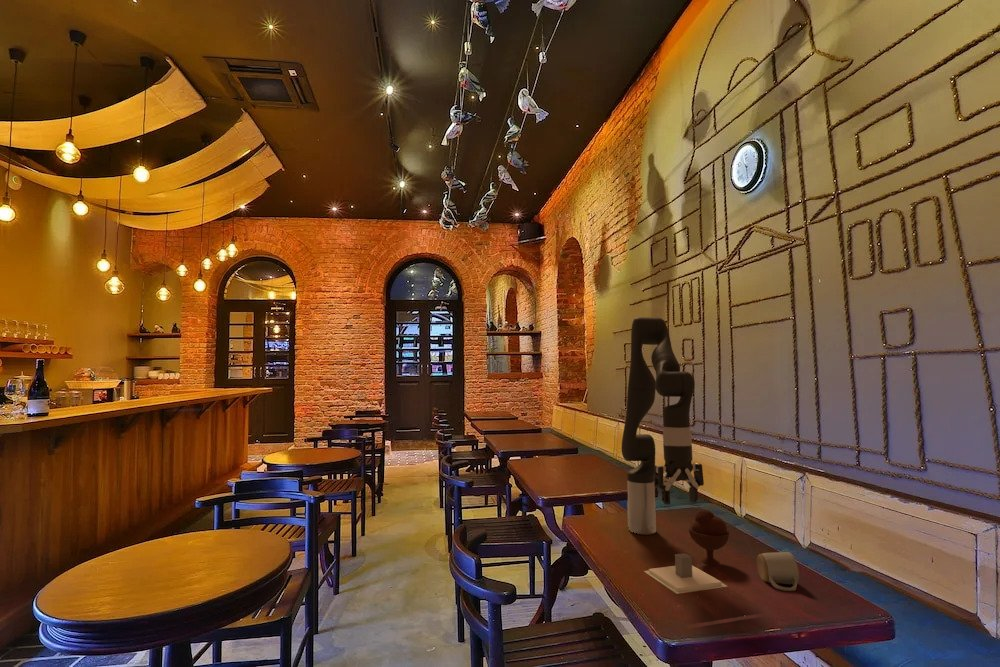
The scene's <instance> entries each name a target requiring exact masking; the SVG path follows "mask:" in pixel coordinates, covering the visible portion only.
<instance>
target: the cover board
mask: <svg viewBox="0 0 1000 667" xmlns="http://www.w3.org/2000/svg"><path fill="white" fill-rule="evenodd" d="M692 558H693V557H692V556H691V555H689V554H687V553H677V554H674V564H675V565H671V566H662V567H656V568H655V567H653V568H648V570H649V572H650V573H651V574H652V575H654V576H655V577H657V578H658V579H660V580H661V581H663V582H664V583H666V584H667V585H669V586H670V587H672V588H673V589H675V590H676V591H684V590H691V589H698V588H705V587H712V586H719V585H722V583H723V582H722V581H721V580H719V579H717V578H716V577H714V576H712V575H710V574H708V573H707V572H704V571H703V570H701V569H699V568H698V567H696V566H694V565H693V559H692Z"/></svg>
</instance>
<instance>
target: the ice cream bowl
mask: <svg viewBox="0 0 1000 667" xmlns="http://www.w3.org/2000/svg"><path fill="white" fill-rule="evenodd" d="M688 532H689V535H690V537H691V539H692V541H693V542H695V544H697V545H698V546H699V547H700V548H702V549H704V550H705V551H706V557H704V558H702V559H701V560H700V562H701V563H703V564H705V565H707V566H719V565H720V561H718V560H717V559H716V558H714V552H715V551H717V550H720V549H722V548H723V547H724V546H725V545H726V544H727V543H728V541H729V536H730V530H728V528H727V523H725V521H724V520H723V518H721V517H718V516H717V515H715V514H714V512H712V511H711V510H709V509H705V508H702V509H699V510H698V511H697V512H696V513H695V516H694V522H693V523H692V525H691V526H689V529H688Z"/></svg>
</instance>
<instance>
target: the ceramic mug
mask: <svg viewBox="0 0 1000 667" xmlns="http://www.w3.org/2000/svg"><path fill="white" fill-rule="evenodd" d="M756 567H757V572H758V575H759V577H760V579H761V580H762V581H763V582H765V583H768V584H769V583H770V584H771V586H772V587H773V588H775V589H776V590H780V591H785V592H793V591H796V590H797V587H798V586H797V585H798V584H799V581H800V580H799V579H800V572H799V568H798V564H797V561H796V559H795V557H794V554H792V552H789V551H783V552H781V551H777V552H763V553H759V554H758V555H757V557H756ZM778 584H780V585H778ZM791 584H792V586H791V587H784V586H781V585H791Z"/></svg>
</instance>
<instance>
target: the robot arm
mask: <svg viewBox="0 0 1000 667" xmlns="http://www.w3.org/2000/svg"><path fill="white" fill-rule="evenodd" d="M630 330H631V331H630V332H631V333H630V363H629V364H630V365H629V366H630V367H629V373H628V374H629V376H628V384H627V395H626V396H627V397H626V411H625V413H626V414H625V419H624V421H625V422H624V428H623V432H622V439H621V455H622V457H623V459H624V460H625V461H628V462H640V464H638V466H636V467H634V468H633V469H630V470H628V471H627V474H626V477H627V478H626V479H627V480H626V482H627V484H626V485H627V501H626V506H627V507H626V508H627V512H626V513H627V528H628V527H629V528H628V531H629V530H630V532H631V533H633V532H634V533H633V534H636V533H637V534H638V535H653V534H655V533H657V523H656V522H657V520H656V519H657V518H656V492H655V491H656V489H655V488H657V489H660V490H661V501H662V502H663V505H667V506H669V505H671V491H670V489H671V487H672V485H674V483H675V482H680V481H684V482H686V483H687V484H688V486H689V487H688V494H689V501H690V502H692V503H697V501H698V500H699V494H698V492H699V491H698V489H699V487H701V486H702V487H703V486H704V485H705V482H704V471H703V470H704V469H703V464H701V463H698V462H693V463H692V461H693V443H692V442H693V441H692V440H693V439H692V433H691V421H690V410H691V404H692V399H693V397H694V396H693V395H694V391H695V386H696V384H695V383H696V381H695V378H694V376H693V374H691V373H690V372H689V371H681V366H680V364H679V361H678V359H677V357H676V355H675V354H674V351H673V346H672V341H671V338H670V333H669V330H668V325H667V324H666V321H665V320H664V319H663V318H661V317H649V316H647V317H645V316H637V317H634V319H633V321H632V323H631V328H630ZM643 345H644V346H645V345H647V346H648V345H649V346H656V347H655V348H653V351H652V353H651V356H650V357H651V364H652V366H653V369H654V371H655V376H654V374H653V373H652V371H651V369H650V368H649V366H648V364H647V363H646V360H645V358H644V355H643V350H642V349H643ZM656 392H657V394H658V395H660V396H661V397H663V398H664V397H667V398H668V397H669V398H671V397H675V398H676V397H680V398H679V400H678V401H677V403H674V404H669V405H666V406H664V407H663V410H662V422H663V431H662V442H663V447H662V448H663V459H664V465H659V464H658V465H657V464H656V443H655V440H654V437H653V436H652V435H651V434H648V433H645V434H644V433H642V434H641V433H638V429H639V427H640V424H641V423H642V422H641V421H643V419H644V418H645V416H647V414H648V412H649V411H650V410H651V409H652V406H653V405H654V403H655V398H656ZM637 433H638V434H637ZM692 472H693V474H692Z"/></svg>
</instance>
